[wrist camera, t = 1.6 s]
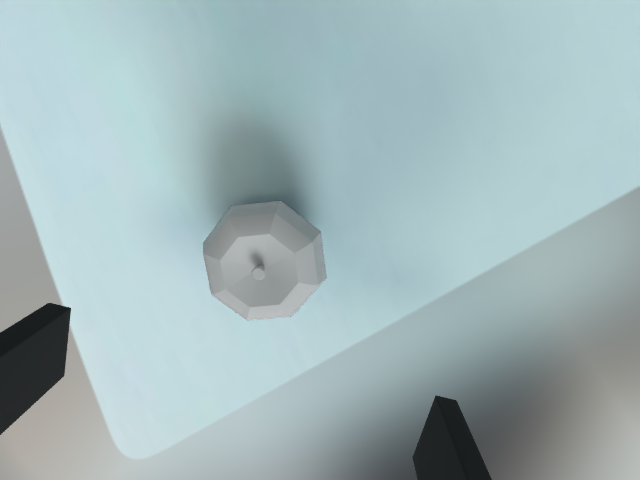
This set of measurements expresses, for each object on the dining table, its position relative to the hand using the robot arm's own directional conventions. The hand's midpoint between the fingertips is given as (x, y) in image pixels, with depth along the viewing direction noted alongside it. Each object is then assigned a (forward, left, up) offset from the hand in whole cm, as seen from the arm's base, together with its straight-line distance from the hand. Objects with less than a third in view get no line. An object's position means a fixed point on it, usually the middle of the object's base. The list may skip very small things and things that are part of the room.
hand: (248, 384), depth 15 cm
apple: (0, -1, -16) cm, 16 cm away
